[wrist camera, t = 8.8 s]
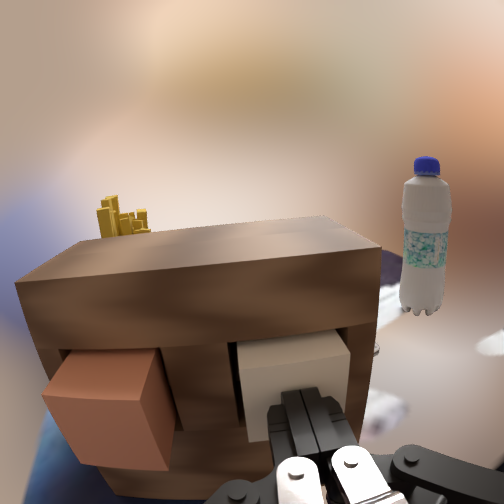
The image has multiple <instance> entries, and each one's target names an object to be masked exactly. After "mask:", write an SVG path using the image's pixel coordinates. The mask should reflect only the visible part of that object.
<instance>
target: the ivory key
mask: <svg viewBox="0 0 504 504" xmlns="http://www.w3.org/2000/svg"><path fill="white" fill-rule="evenodd" d="M237 352H238V364H239V374H240V381H241V389H242V396H243V404H244V411H245V418H246V425H247V432H248V439H249V442H258V441H266V440H269V438H268V426H267V412H268V410H269V407H270V406H271V405H279V404H281V392H285V391H292V390H299V389H304V388H310V387H317V388H318V390H319V392H320V395H321V397H327V396H331V397H333V398H334V399H335V400H336V401H338V402H339V404H340V406H341V408H342V410H343V413H344V411H345V403H346V394H347V385H348V376H349V365H350V352H349V350H348V349H347V347H346V345H345V344H344V342H343V341H342V339H341V338H340V336H339V335H338V333H337V332H336V330H335V329H330V330H323V331H317V332H310V333H303V334H296V335H288V336H281V337H273V338H264V339H256V340H247V341H237Z"/></svg>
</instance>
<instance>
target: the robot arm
mask: <svg viewBox="0 0 504 504" xmlns="http://www.w3.org/2000/svg"><path fill="white" fill-rule="evenodd" d="M267 426H268V438H269V444H270V449H271V455H272V461H273V466H274V469H273V471H272V472H271V473H270V474H269V475H268V476H266V477H265V478H263V479H261V480H258V481H256V482H253V483H251V482H249V481H246V480H240V479H239V480H231V481H228V482H226V483H224V484H223V485H222V486H221V487H220V488H219V489H218V490H217V491H216V492H215V493H214V494H213V495H212V496H211V497H210V498H209V499H208V500H207V501H206V502H205V503H204V504H324V501H323V496H322V491H321V486H320V485H322V484H325V487H326V490H327V494H326V500H327V503H328V504H504V473H502V472H499V471H495V470H491V469H488V468H484V467H481V466H478V465H474V464H471V463H467V462H465V461H461V460H458V459H455V458H452V457H449V456H446V455H443V454H440V453H438V452H434V451H432V450H429V449H426V448H423V447H421V446H418V445H405V446H402V447H401V448H399V449H398V450H397V451H396V452H395V454H392V455H374V454H370V453H368V452H367V451H366V450H364V449H363V448H361V447H360V446H359V445H358V443H357V440H356V438H355V436H354V434H353V432H352V430H351V427H350V425H349V423H348V421H347V420H346V417H345V414H344V413H343V410H342V408H341V406H340V404H339V402H338V401H336V400H335V399H334V398H333V397H331V396H327V397H321V395H320V392H319V390H318V388H317V387H310V388H304V389H299V390H292V391H285V392H281V404H279V405H271V406H270V407H269V410H268V412H267Z"/></svg>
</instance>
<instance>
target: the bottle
mask: <svg viewBox="0 0 504 504" xmlns="http://www.w3.org/2000/svg"><path fill="white" fill-rule="evenodd" d="M414 172H415V173H414V174H417V176H415V177H413V178H412V179H410V180H408V181H407V182H405V184H404V193H403V202H402V211H403V215H402V218H403V220H404V224H405V226H404V252H403V268H402V275H401V281H400V290H399V298H400V302H401V305H402V308H403V310H404V311H406V312H409V311H410V309H411V308H412V309H413V312H414V315H415V316H419V314H420V312H421V310H423V309H425V310H426V315H427V316H429V315H431V314H432V313H433V312H435V311H437V310H438V309H439V308H440V306H441V304H442V300H443V294H444V283H445V265H446V255H447V242H448V226H449V223H450V222H451V212H452V205H451V196H450V187H449V184H447V183H446V182H444V181H443V180H442V179H440V178H438V177H437V176H435V175H440V164H439V162H438V160H437V159H435V158H432V157H428V156H425V157H419V158H417V159H416V160H415V162H414Z"/></svg>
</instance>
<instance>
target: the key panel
mask: <svg viewBox="0 0 504 504" xmlns="http://www.w3.org/2000/svg"><path fill="white" fill-rule="evenodd" d="M381 249H382V247H381V246H379V245H378V244H376V243H374V242H372V241H371V240H369V239H367V238H365V237H363V236H361V235H359V234H358V233H356V232H354V231H352V230H350V229H349V228H347V227H345V226H343V225H341V224H339V223H338V222H336V221H334V220H332V219H330V218H328V217H326V216H314V217H302V218H291V219H279V220H268V221H256V222H245V223H235V224H225V225H215V226H205V227H196V228H186V229H177V230H168V231H159V232H150V233H142V234H133V235H125V236H117V237H109V238H101V239H93V240H86V241H80V242H78V243H77V244H75V245H73V246H72V247H70V248H68V249H66V250H65V251H63V252H62V253H60V254H58V255H57V256H55V257H53V258H52V259H50V260H49V261H47V262H46V263H44V264H42V265H41V266H39V267H38V268H36V269H34V270H33V271H31V272H30V273H29V274H27V275H25V276H24V277H22V278H21V279H19V280H18V281H16V282H15V286H16V290H17V293H18V297H19V300H20V304H21V307H22V310H23V313H24V316H25V319H26V322H27V325H28V328H29V331H30V334H31V336H32V339H33V342H34V344H35V347H36V350H37V352H38V355H39V357H40V360H41V362H42V365H43V367H44V369H45V372H46V374H47V376H48V379H49V380H50V381H51V379H52V378H53V376H54V375H55V373H56V372H57V370H58V369H59V368H60V366H61V365H62V363H63V362H64V360H65V359H66V358H67V356H68V355H69V353H70V352H71V351H72V349H134V348H157V347H158V348H159V352H160V356H161V360H162V364H163V367H164V371H165V375H166V378H167V382H168V386H169V389H170V393H171V396H172V399H173V403H174V406H175V409H176V413H177V414H176V421H175V427H174V434H173V441H172V449H171V456H170V464H169V471H152V470H134V469H122V468H111V467H102V466H96V467H97V469H98V470H99V472H100V473H101V475H102V476H103V478H104V479H105V480H106V482H107V483H108V485H109V486H110V488H111V489H112V490H113V492H114V493H115V495H119V496H128V497H139V498H152V499H174V500H208V499H209V498H210V497H211V496H212V495H213V494H214V493H215V492H216V491H217V490H218V489H219V488H220V487H221V486H222V485H223V484H224V483H226V482H228V481H231V480H239V479H240V480H246V481H249V482H251V483H253V482H256V481H258V480H261V479H263V478H265V477H266V476H268V475H269V474H270V473H271V472H272V471H273V469H274V466H273V461H272V455H271V449H270V444H269V440H266V441H258V442H249V439H248V432H247V425H246V418H245V411H244V404H243V396H242V389H241V381H240V374H239V364H238V352H237V341H247V340H256V339H264V338H273V337H281V336H288V335H296V334H303V333H310V332H317V331H323V330H330V329H335V330H336V332H337V333H338V335H339V336H340V338H341V339H342V341H343V342H344V344H345V345H346V347H347V349H348V350H349V352H350V365H349V376H348V385H347V394H346V403H345V411H344V414H345V417H346V420H347V421H348V423H349V425H350V427H351V430H352V432H353V434H354V436H355V438H356V440H357V443H358V444H359V439H360V434H361V429H362V424H363V419H364V414H365V408H366V403H367V397H368V390H369V384H370V377H371V370H372V363H373V355H374V347H375V338H376V328H377V318H378V306H379V292H380V275H381ZM320 486H325V484H322V485H320Z"/></svg>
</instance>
